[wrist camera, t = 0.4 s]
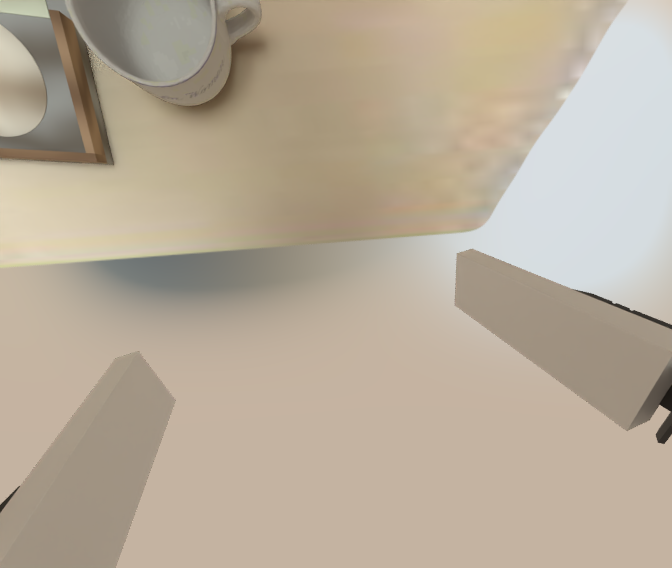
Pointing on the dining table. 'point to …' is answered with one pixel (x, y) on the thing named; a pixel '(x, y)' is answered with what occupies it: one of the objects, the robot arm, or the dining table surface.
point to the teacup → (166, 42)
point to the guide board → (47, 87)
